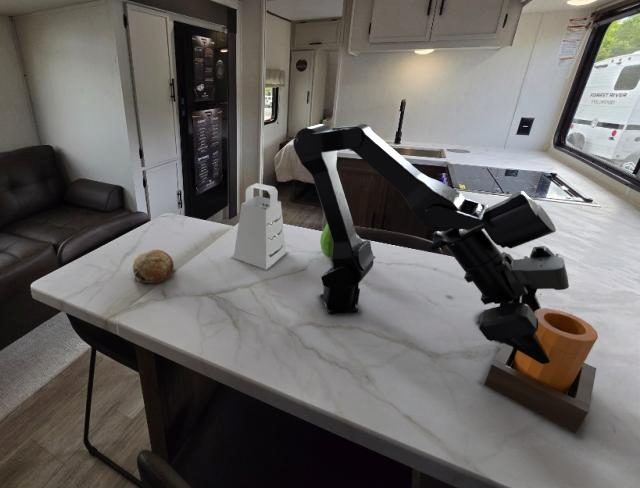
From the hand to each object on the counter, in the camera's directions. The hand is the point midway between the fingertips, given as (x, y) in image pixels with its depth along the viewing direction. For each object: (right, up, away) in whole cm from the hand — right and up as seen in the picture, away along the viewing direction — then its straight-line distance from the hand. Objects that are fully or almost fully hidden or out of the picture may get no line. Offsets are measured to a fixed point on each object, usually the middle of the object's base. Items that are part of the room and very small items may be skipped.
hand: (545, 344), depth 52 cm
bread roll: (-69, +6, +34) cm, 77 cm away
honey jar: (+1, -8, +3) cm, 8 cm away
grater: (-41, +9, +42) cm, 60 cm away
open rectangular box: (+1, -8, +3) cm, 8 cm away
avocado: (-21, +14, +38) cm, 46 cm away
